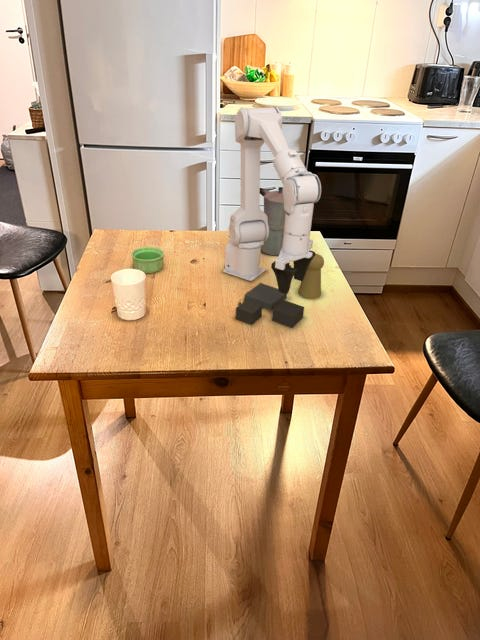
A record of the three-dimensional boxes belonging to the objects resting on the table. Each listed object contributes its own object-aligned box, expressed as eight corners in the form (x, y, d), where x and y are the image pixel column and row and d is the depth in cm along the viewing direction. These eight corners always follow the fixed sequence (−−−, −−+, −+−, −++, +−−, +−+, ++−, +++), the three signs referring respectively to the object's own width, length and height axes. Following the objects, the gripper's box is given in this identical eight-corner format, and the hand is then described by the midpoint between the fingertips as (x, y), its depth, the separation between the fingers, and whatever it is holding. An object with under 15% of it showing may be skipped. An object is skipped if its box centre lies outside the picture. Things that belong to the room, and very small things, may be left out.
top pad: (235, 318, 120) (236, 307, 118) (245, 310, 123) (246, 299, 121) (251, 325, 118) (252, 313, 116) (261, 316, 121) (262, 305, 119)
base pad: (244, 301, 127) (244, 294, 126) (260, 289, 133) (260, 282, 132) (271, 311, 124) (272, 304, 122) (286, 298, 129) (287, 291, 128)
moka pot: (286, 261, 148) (293, 196, 137) (242, 248, 154) (245, 184, 143) (300, 250, 155) (308, 187, 144) (257, 238, 161) (261, 177, 150)
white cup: (153, 308, 122) (151, 272, 117) (138, 324, 116) (135, 287, 110) (125, 302, 124) (122, 266, 119) (108, 317, 118) (104, 280, 112)
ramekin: (170, 270, 140) (169, 255, 138) (140, 277, 136) (139, 262, 133) (156, 257, 146) (155, 244, 144) (127, 264, 142) (126, 250, 139)
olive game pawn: (320, 300, 129) (325, 262, 123) (297, 297, 130) (301, 259, 124) (321, 289, 134) (327, 252, 128) (299, 286, 135) (303, 249, 129)
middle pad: (271, 320, 120) (272, 309, 118) (282, 310, 124) (283, 299, 122) (292, 328, 117) (293, 316, 116) (302, 318, 121) (304, 306, 120)
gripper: (298, 246, 101) (292, 304, 109) (327, 225, 112) (319, 279, 119) (268, 238, 104) (264, 294, 112) (299, 218, 115) (293, 271, 122)
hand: (291, 286), depth 116 cm, fingers open, 7 cm apart
